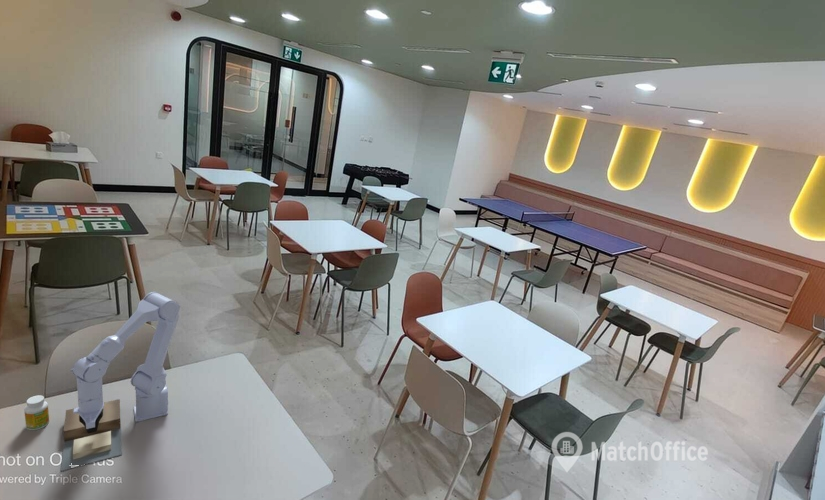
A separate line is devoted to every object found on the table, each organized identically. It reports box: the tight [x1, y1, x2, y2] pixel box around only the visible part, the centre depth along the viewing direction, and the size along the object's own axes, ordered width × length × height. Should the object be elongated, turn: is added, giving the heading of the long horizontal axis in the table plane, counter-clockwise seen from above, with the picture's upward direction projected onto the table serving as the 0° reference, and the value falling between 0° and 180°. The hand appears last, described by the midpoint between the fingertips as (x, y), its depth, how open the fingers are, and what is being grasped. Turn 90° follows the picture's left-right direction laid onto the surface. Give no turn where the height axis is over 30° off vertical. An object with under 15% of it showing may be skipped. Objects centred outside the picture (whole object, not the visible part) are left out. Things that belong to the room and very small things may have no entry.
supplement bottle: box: [23, 394, 50, 431], centre depth 124 cm, size 5×5×10 cm
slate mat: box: [60, 428, 122, 473], centre depth 121 cm, size 14×12×1 cm
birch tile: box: [73, 431, 111, 459], centre depth 121 cm, size 9×6×2 cm, turn 126°
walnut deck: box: [63, 398, 122, 443], centre depth 129 cm, size 14×10×4 cm
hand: (92, 431), depth 121 cm, fingers closed
